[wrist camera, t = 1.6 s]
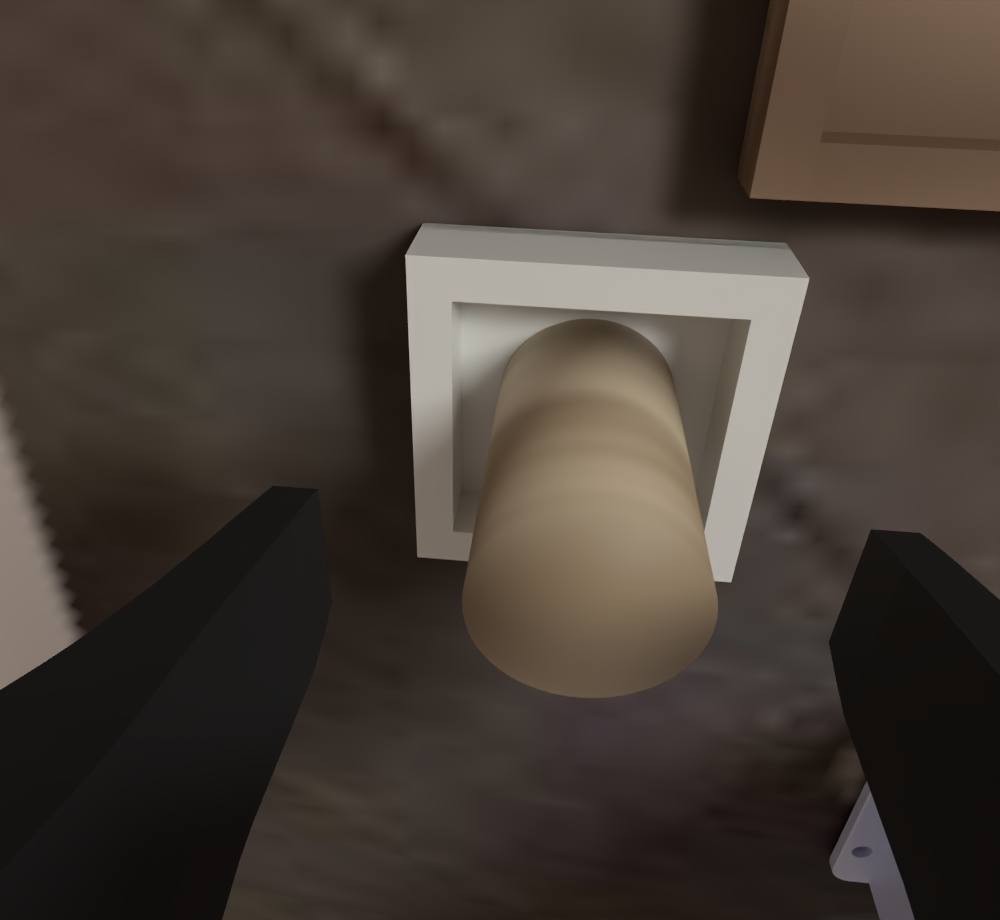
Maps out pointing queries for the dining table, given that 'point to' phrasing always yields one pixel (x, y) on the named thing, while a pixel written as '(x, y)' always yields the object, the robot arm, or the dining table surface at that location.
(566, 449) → the dowel
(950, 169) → the tray
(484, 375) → the holder
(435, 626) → the dining table surface
